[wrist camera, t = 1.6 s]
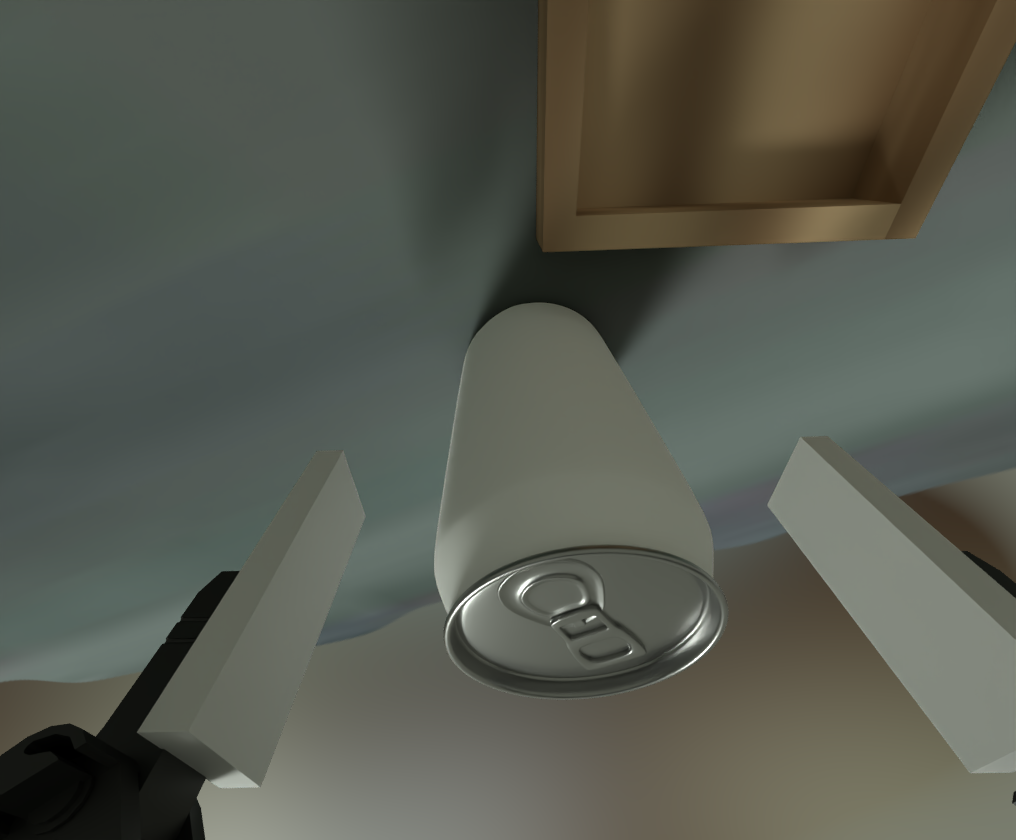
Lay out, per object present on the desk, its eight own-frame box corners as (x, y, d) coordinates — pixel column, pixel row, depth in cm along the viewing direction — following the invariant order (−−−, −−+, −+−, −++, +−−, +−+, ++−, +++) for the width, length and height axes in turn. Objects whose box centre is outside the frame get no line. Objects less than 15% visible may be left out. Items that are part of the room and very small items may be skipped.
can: (565, 266, 15) (696, 472, 5) (627, 388, 18) (782, 659, 8) (434, 349, 17) (347, 618, 7) (511, 447, 20) (526, 728, 10)
